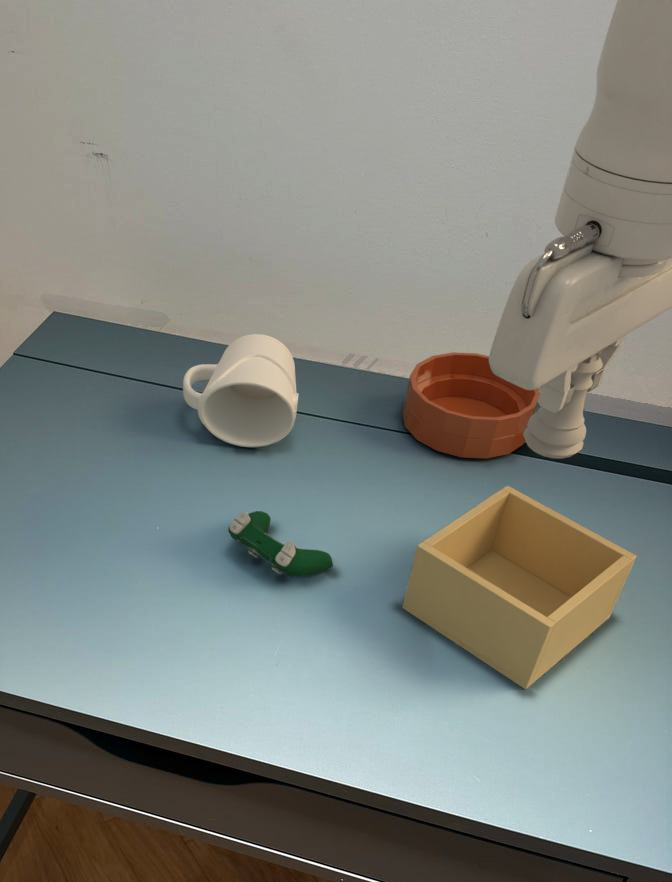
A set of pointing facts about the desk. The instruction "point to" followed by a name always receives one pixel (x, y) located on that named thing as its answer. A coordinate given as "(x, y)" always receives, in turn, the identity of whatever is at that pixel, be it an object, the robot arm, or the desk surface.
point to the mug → (247, 392)
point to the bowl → (466, 407)
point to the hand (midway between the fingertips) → (568, 396)
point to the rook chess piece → (563, 417)
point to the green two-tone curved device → (277, 547)
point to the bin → (516, 584)
